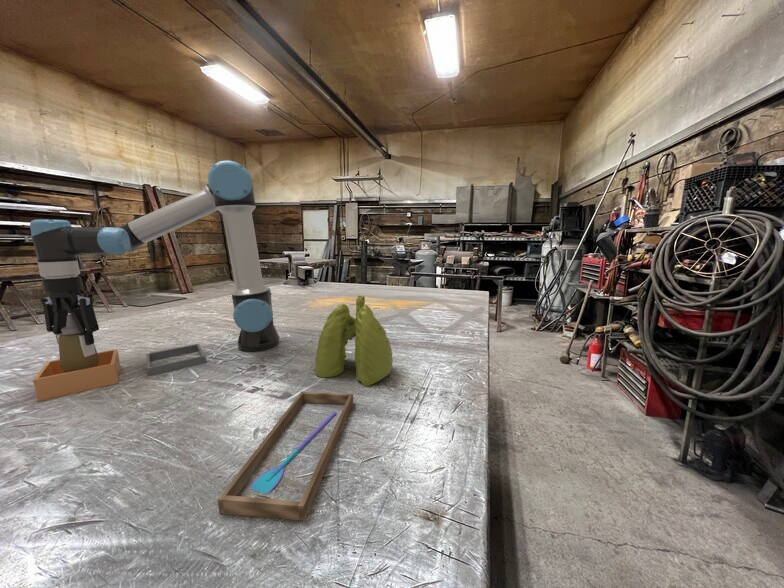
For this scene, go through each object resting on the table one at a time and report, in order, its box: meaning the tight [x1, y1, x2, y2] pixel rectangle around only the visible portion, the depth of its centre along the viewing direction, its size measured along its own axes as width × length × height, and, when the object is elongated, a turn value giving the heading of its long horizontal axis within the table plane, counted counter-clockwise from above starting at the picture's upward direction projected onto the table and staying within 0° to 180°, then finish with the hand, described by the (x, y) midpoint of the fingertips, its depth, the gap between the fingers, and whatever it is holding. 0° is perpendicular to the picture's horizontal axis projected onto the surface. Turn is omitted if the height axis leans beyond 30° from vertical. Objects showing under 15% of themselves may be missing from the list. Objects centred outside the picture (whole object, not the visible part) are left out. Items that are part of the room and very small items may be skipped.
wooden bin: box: [32, 348, 121, 402], centre depth 89 cm, size 16×16×6 cm
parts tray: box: [145, 343, 207, 377], centre depth 104 cm, size 16×16×2 cm
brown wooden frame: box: [217, 391, 354, 521], centre depth 62 cm, size 14×33×2 cm, turn 174°
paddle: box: [250, 411, 337, 495], centre depth 61 cm, size 25×4×1 cm, turn 161°
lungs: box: [314, 295, 394, 387], centre depth 93 cm, size 25×16×24 cm, turn 67°
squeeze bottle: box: [58, 313, 99, 373], centre depth 88 cm, size 8×8×18 cm
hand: (78, 354), depth 88 cm, fingers closed on squeeze bottle, 6 cm apart
